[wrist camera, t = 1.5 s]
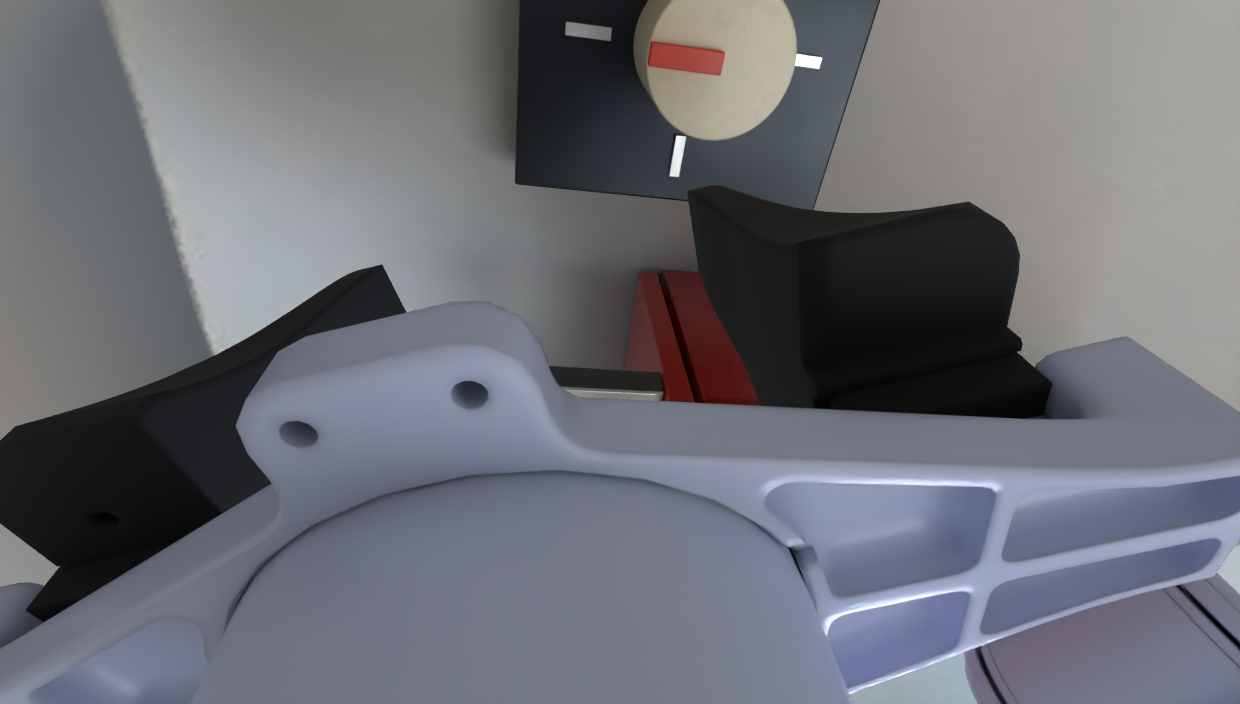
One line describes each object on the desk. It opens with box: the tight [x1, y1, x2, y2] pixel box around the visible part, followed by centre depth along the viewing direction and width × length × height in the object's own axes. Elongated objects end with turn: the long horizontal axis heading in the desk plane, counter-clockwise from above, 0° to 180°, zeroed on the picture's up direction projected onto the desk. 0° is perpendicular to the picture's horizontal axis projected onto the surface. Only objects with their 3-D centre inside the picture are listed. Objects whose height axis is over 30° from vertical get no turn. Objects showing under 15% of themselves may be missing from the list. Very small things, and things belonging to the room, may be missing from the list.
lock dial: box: [633, 0, 797, 141], centre depth 17 cm, size 4×4×4 cm
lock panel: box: [515, 0, 880, 210], centre depth 19 cm, size 11×9×3 cm
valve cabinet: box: [660, 270, 760, 406], centre depth 25 cm, size 8×13×10 cm, turn 173°
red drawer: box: [549, 272, 695, 403], centre depth 24 cm, size 6×13×9 cm, turn 173°
